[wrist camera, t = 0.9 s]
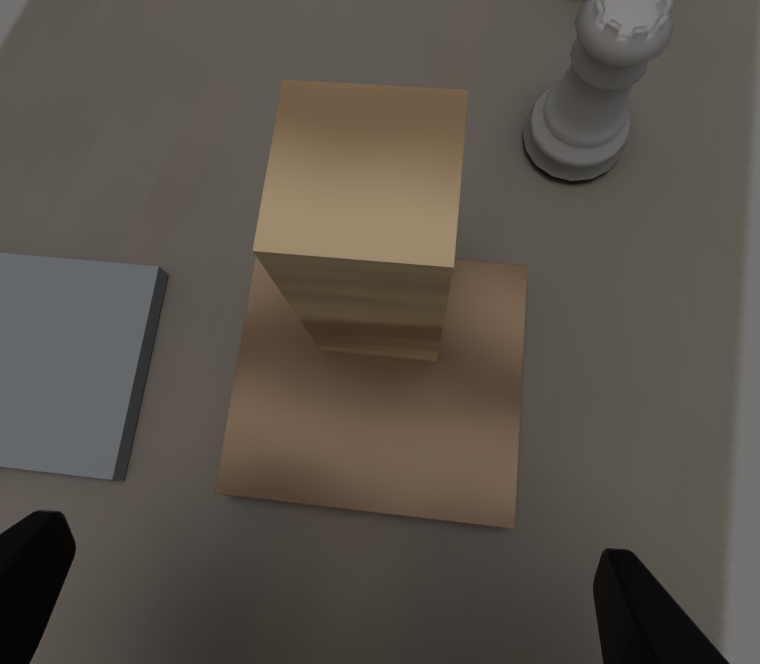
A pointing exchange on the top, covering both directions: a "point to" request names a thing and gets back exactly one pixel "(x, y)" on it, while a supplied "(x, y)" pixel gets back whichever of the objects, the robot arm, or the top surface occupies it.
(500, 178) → the top surface
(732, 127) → the top surface
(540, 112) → the rook chess piece
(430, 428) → the walnut ledge
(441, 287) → the oak block
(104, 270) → the slate tile
